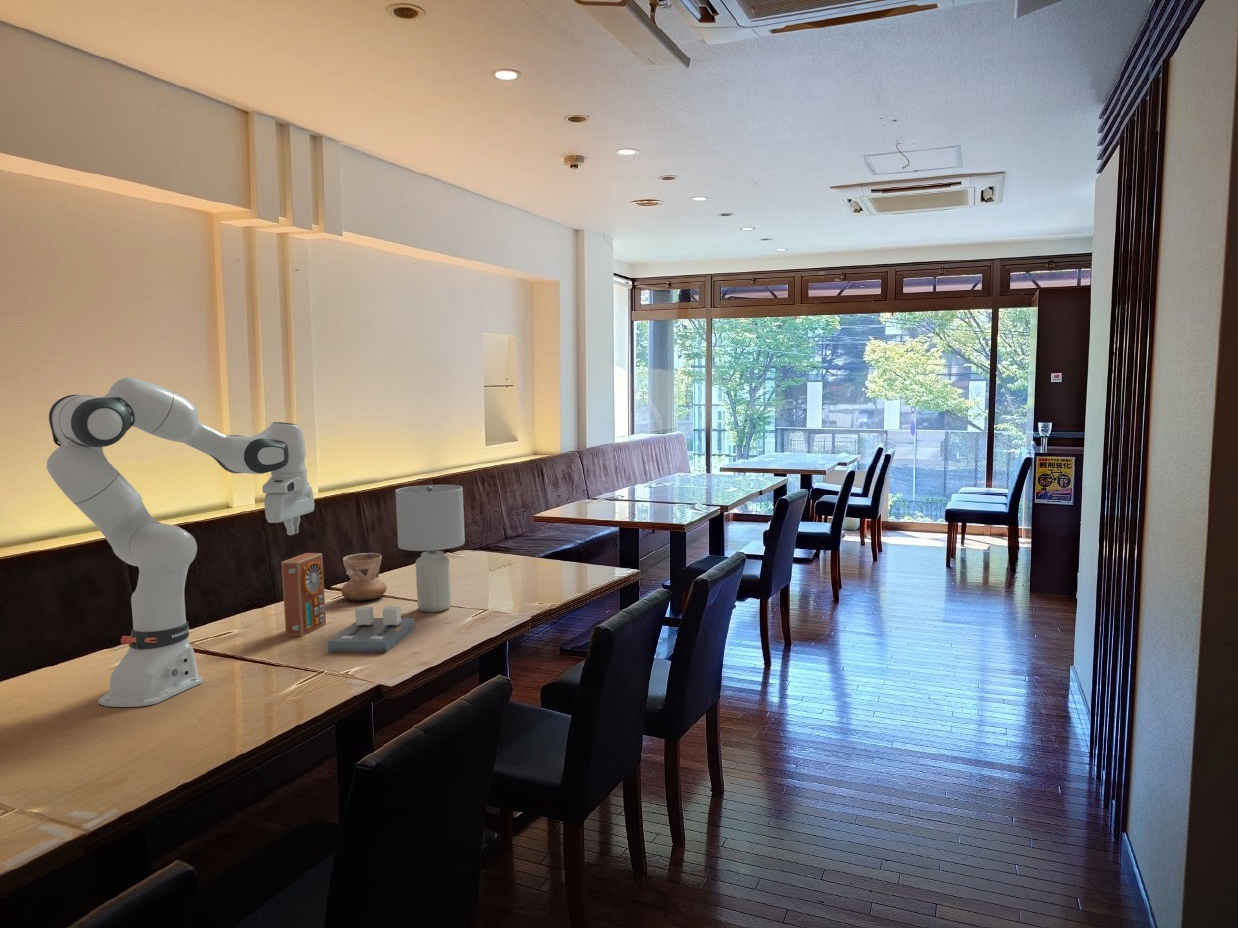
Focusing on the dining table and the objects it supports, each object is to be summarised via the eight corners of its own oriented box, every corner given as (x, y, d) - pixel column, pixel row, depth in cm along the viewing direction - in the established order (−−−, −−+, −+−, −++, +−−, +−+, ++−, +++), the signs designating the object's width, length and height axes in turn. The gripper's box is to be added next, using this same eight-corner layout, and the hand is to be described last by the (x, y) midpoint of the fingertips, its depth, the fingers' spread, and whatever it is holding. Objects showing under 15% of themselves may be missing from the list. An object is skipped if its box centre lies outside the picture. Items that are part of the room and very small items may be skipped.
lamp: (430, 621, 248) (424, 492, 244) (387, 611, 260) (381, 488, 257) (480, 606, 264) (476, 484, 260) (438, 597, 276) (433, 481, 273)
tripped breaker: (397, 624, 233) (396, 609, 232) (383, 624, 233) (382, 609, 233) (401, 621, 236) (400, 606, 235) (387, 621, 236) (386, 606, 236)
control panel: (330, 622, 249) (302, 637, 235) (309, 621, 251) (280, 636, 236) (326, 552, 247) (297, 563, 233) (305, 551, 249) (275, 562, 234)
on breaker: (369, 624, 234) (368, 609, 233) (355, 624, 234) (355, 609, 234) (373, 621, 237) (372, 606, 236) (360, 621, 237) (359, 606, 237)
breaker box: (386, 652, 220) (386, 641, 219) (328, 652, 221) (327, 640, 221) (415, 628, 241) (414, 617, 241) (361, 627, 243) (361, 617, 243)
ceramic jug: (370, 606, 267) (367, 562, 266) (330, 603, 271) (328, 561, 270) (398, 592, 285) (396, 551, 283) (361, 590, 288) (359, 550, 287)
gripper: (297, 478, 232) (300, 527, 234) (258, 487, 212) (262, 541, 213) (318, 478, 232) (321, 527, 233) (282, 487, 212) (285, 541, 213)
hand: (292, 534), depth 223 cm, fingers closed
